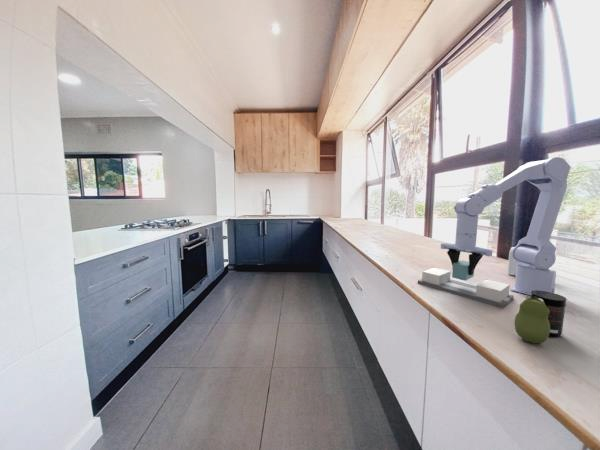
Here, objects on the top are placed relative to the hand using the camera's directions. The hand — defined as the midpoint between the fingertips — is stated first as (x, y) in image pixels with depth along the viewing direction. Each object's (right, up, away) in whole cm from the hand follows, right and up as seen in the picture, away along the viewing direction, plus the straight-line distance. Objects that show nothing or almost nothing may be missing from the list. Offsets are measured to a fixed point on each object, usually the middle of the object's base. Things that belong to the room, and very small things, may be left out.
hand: (462, 272), depth 81 cm
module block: (0, -2, 0) cm, 2 cm away
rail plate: (0, -6, +1) cm, 6 cm away
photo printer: (+35, -5, +15) cm, 39 cm away
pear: (-5, -10, -28) cm, 30 cm away
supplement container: (+2, -9, -25) cm, 26 cm away
